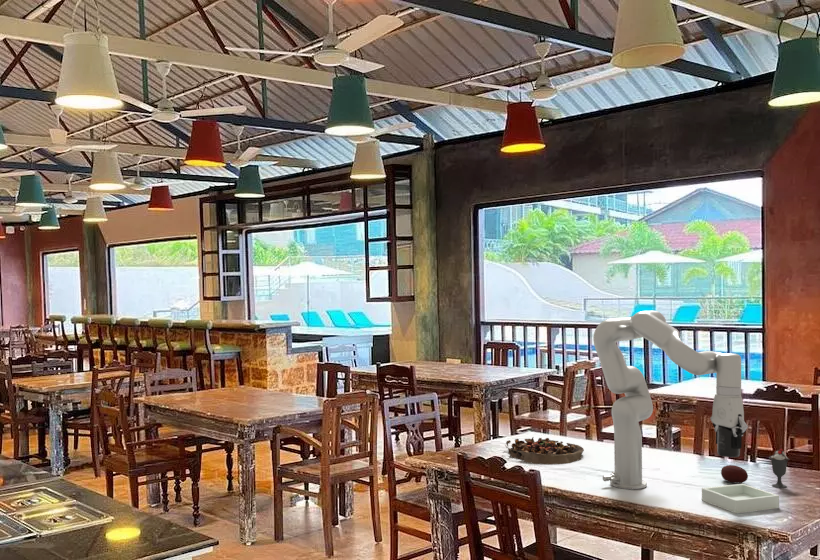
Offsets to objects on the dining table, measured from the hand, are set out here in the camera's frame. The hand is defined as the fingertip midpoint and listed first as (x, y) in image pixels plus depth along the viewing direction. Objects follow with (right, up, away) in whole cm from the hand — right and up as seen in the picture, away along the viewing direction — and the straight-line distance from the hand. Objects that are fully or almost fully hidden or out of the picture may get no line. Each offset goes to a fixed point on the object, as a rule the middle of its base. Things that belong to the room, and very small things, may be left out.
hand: (728, 445), depth 257 cm
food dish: (-47, -21, +76) cm, 92 cm away
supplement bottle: (0, -3, 0) cm, 3 cm away
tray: (+4, -19, +1) cm, 20 cm away
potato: (+14, -20, +29) cm, 37 cm away
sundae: (+27, -19, +23) cm, 41 cm away
